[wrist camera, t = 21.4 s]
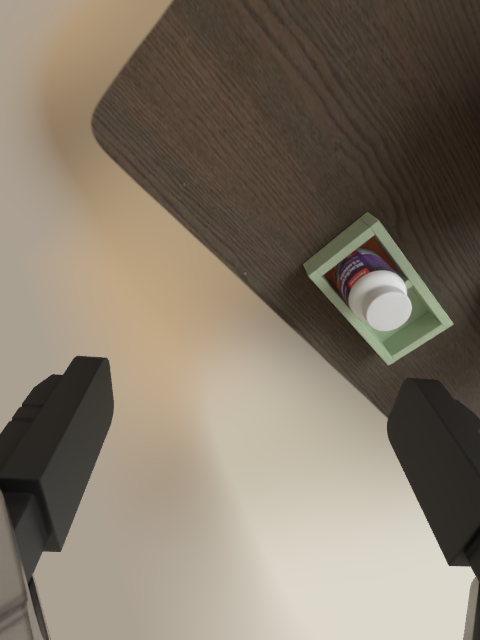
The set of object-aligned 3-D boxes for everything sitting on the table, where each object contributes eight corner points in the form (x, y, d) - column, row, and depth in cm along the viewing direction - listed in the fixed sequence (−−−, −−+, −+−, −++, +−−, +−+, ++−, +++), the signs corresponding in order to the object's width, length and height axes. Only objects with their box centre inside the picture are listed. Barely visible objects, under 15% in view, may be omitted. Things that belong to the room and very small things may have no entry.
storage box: (378, 349, 46) (388, 366, 43) (302, 264, 40) (308, 276, 37) (439, 310, 43) (454, 324, 40) (367, 211, 37) (378, 220, 34)
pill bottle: (343, 241, 38) (374, 278, 30) (389, 253, 39) (432, 291, 30) (325, 286, 41) (348, 331, 32) (368, 296, 41) (403, 343, 33)
